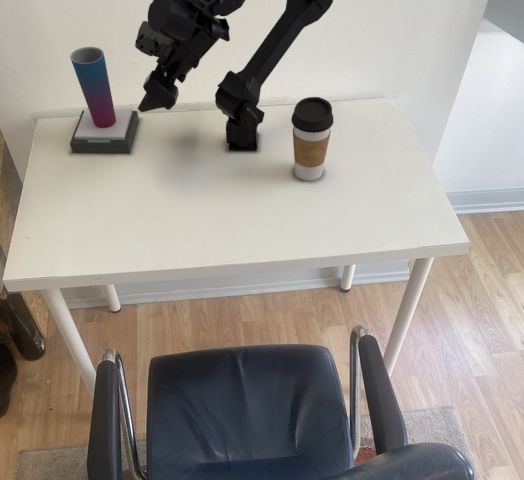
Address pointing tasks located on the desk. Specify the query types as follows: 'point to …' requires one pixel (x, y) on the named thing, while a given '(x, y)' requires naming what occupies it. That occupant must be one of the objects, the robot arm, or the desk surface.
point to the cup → (95, 84)
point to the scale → (105, 133)
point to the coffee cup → (311, 136)
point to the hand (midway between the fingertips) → (144, 97)
